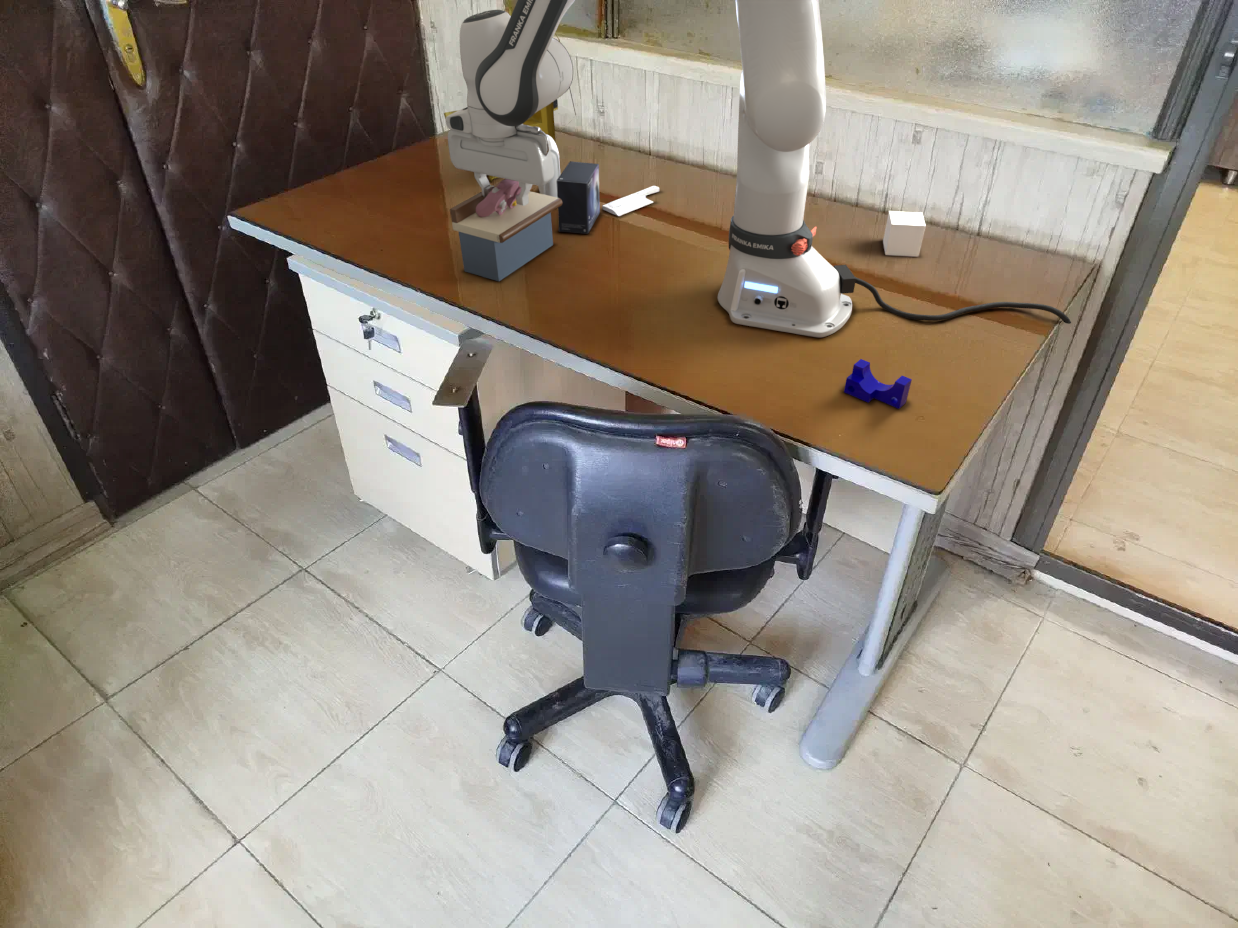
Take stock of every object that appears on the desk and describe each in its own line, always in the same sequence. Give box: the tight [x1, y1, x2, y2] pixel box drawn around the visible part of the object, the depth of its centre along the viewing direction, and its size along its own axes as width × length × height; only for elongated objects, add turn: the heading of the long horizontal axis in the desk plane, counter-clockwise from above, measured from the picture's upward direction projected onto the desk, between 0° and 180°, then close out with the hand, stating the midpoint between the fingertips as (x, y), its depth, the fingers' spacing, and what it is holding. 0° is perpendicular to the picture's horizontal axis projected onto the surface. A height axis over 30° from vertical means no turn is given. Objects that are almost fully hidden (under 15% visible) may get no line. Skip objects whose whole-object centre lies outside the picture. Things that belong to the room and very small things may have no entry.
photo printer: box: [537, 135, 561, 197], centre depth 173 cm, size 10×4×12 cm, turn 13°
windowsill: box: [449, 178, 563, 282], centre depth 151 cm, size 11×18×12 cm, turn 149°
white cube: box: [882, 210, 927, 258], centre depth 154 cm, size 6×6×6 cm
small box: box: [557, 160, 601, 235], centre depth 163 cm, size 11×6×10 cm, turn 168°
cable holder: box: [843, 358, 913, 410], centre depth 118 cm, size 8×4×4 cm, turn 48°
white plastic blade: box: [601, 185, 660, 217], centre depth 173 cm, size 5×15×1 cm, turn 132°
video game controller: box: [476, 179, 522, 217], centre depth 146 cm, size 10×5×7 cm, turn 148°
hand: (505, 200), depth 147 cm, fingers open, 6 cm apart
